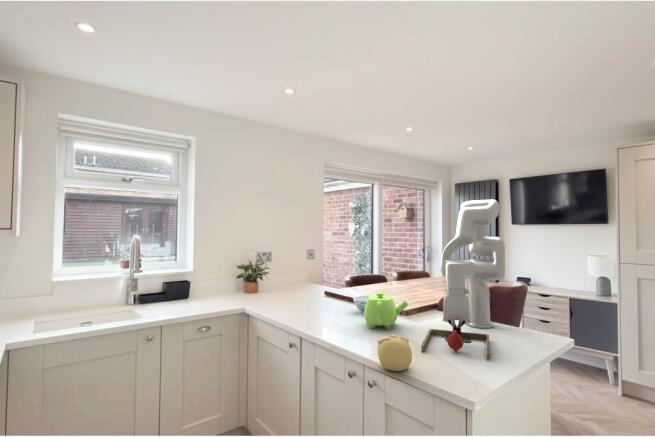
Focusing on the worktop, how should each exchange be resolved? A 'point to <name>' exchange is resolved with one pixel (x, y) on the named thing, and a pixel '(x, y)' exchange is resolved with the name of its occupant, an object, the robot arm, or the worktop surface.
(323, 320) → the worktop surface
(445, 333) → the wooden u-shaped frame
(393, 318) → the teapot
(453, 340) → the onion
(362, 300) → the chinaware
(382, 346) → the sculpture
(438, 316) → the worktop surface
